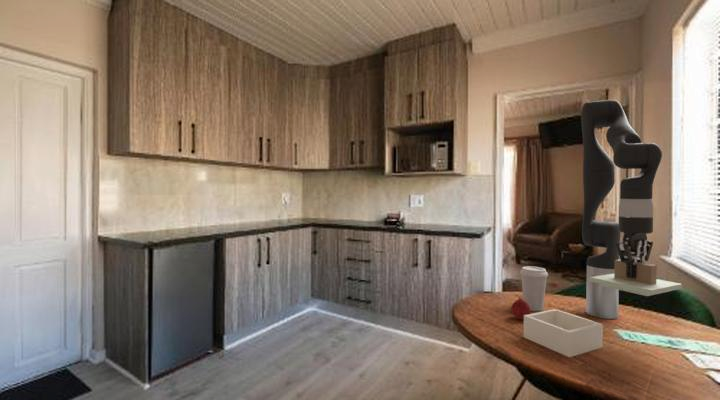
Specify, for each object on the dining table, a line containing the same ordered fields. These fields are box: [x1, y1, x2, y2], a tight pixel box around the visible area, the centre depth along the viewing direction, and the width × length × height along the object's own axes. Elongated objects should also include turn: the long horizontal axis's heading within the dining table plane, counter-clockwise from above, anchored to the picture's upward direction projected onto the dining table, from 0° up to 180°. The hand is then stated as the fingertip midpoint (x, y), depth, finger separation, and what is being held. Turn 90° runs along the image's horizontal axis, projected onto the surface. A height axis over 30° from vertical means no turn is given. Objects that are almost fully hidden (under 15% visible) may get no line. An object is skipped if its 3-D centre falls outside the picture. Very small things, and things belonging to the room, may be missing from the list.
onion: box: [511, 296, 531, 321], centre depth 118 cm, size 6×6×8 cm
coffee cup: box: [519, 265, 549, 312], centre depth 130 cm, size 10×10×15 cm
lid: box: [590, 258, 683, 297], centre depth 97 cm, size 15×15×7 cm
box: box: [523, 308, 604, 358], centre depth 99 cm, size 14×14×7 cm
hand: (634, 277), depth 97 cm, fingers closed on lid, 2 cm apart
